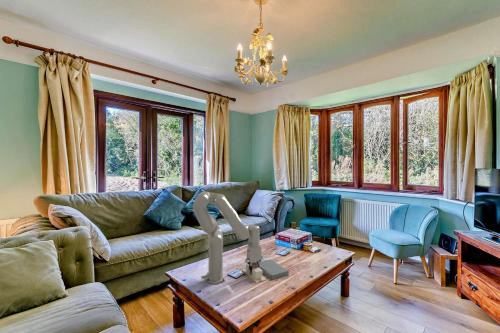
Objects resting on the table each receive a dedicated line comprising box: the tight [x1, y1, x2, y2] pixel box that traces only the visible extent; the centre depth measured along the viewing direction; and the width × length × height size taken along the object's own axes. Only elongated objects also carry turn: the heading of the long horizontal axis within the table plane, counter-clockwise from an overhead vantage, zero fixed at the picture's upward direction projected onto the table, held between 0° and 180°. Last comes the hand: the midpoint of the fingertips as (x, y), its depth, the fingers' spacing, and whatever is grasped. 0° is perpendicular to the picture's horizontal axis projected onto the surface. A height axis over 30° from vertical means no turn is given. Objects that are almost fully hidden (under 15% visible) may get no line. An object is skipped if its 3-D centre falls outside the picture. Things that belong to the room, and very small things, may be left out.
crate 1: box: [245, 263, 250, 274], centre depth 163 cm, size 5×5×5 cm
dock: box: [259, 258, 290, 280], centre depth 166 cm, size 14×22×4 cm, turn 30°
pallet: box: [242, 261, 268, 284], centre depth 159 cm, size 8×20×10 cm, turn 29°
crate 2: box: [252, 267, 263, 280], centre depth 155 cm, size 5×5×5 cm
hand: (254, 269), depth 159 cm, fingers closed on pallet, 4 cm apart
